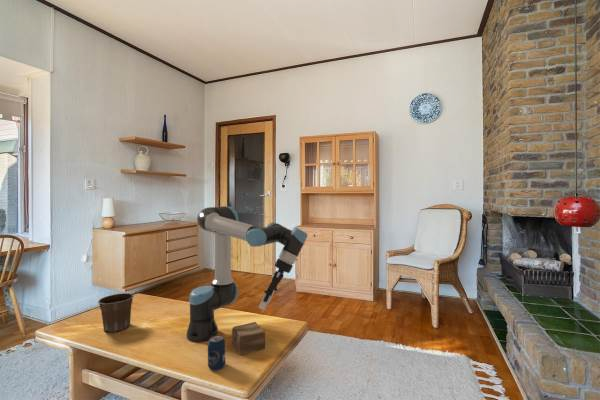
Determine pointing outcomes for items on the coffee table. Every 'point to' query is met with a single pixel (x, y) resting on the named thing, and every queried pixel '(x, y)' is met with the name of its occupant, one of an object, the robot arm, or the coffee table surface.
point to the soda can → (216, 352)
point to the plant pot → (116, 311)
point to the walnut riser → (248, 338)
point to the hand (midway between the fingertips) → (263, 305)
